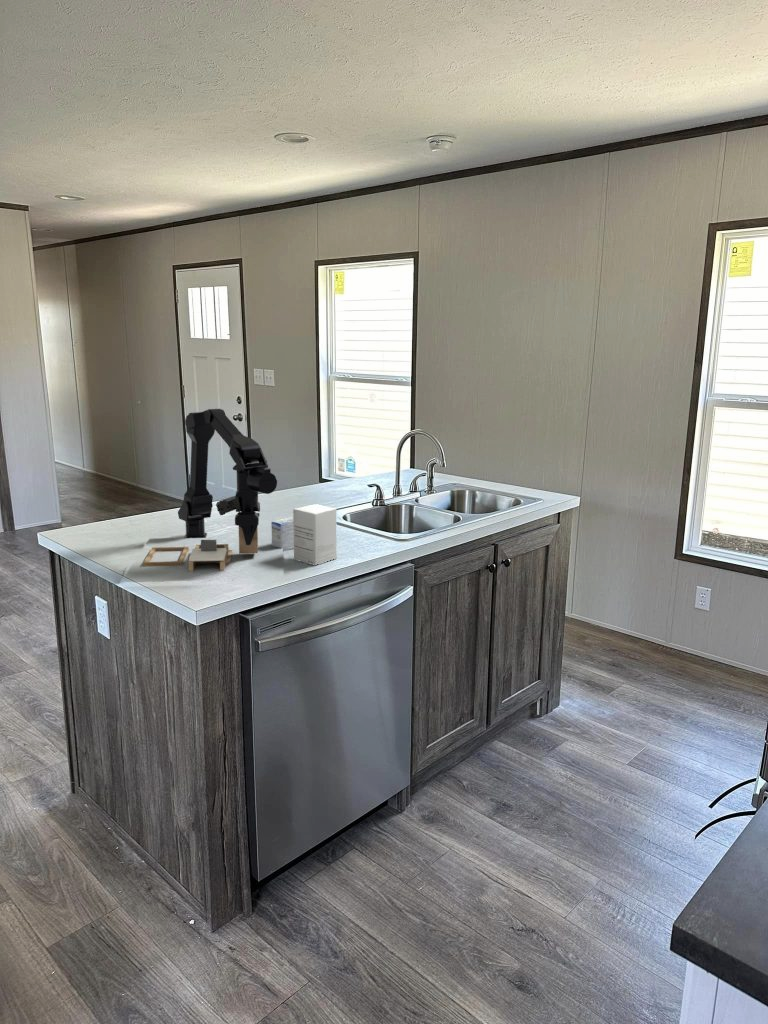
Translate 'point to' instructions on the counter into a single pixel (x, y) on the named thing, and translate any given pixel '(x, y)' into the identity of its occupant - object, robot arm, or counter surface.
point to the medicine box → (283, 533)
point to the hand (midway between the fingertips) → (248, 542)
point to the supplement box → (315, 534)
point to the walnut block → (248, 548)
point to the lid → (208, 552)
